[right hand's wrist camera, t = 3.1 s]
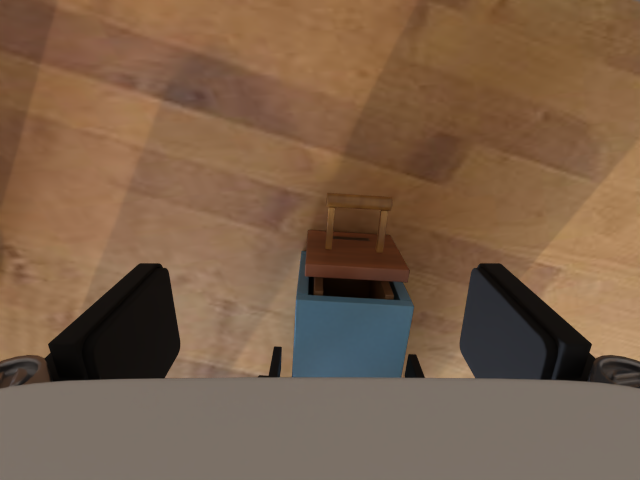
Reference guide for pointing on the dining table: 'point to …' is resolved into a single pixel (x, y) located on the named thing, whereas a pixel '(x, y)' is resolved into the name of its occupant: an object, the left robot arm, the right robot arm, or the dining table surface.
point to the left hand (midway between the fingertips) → (344, 361)
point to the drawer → (354, 254)
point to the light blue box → (349, 333)
